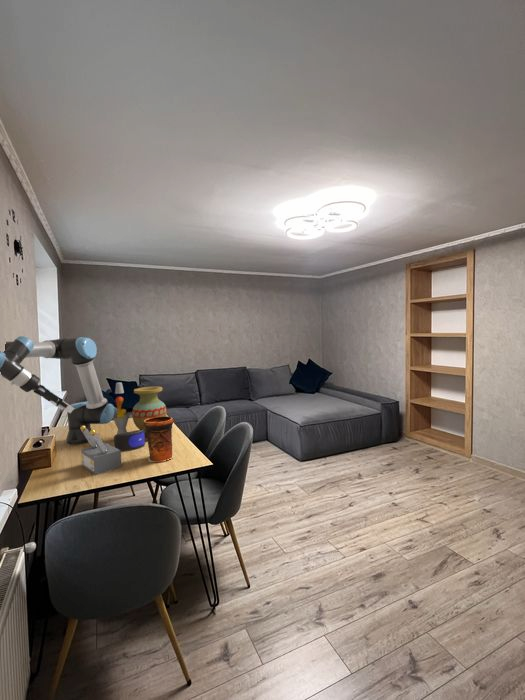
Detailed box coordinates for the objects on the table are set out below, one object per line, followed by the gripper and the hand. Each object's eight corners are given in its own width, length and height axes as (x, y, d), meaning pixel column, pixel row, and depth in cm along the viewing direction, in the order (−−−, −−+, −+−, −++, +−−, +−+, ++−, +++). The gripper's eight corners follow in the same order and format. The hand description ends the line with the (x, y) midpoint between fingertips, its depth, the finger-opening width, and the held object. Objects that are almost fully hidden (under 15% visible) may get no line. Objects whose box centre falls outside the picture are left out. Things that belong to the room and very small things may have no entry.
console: (80, 466, 167) (79, 450, 166) (107, 458, 176) (106, 443, 175) (94, 475, 155) (92, 457, 154) (121, 466, 164) (120, 450, 163)
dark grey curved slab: (116, 453, 183) (115, 436, 182) (114, 451, 187) (113, 434, 186) (147, 447, 192) (146, 430, 191) (144, 444, 196) (143, 428, 195)
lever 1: (91, 447, 169) (78, 427, 165) (96, 444, 171) (83, 423, 166) (94, 449, 167) (80, 428, 163) (98, 445, 169) (85, 424, 164)
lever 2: (101, 452, 161) (87, 431, 157) (106, 449, 163) (92, 428, 158) (104, 454, 159) (90, 432, 154) (108, 451, 160) (95, 429, 156)
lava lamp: (119, 444, 198) (115, 384, 196) (111, 442, 203) (107, 383, 201) (133, 440, 205) (130, 381, 203) (125, 437, 211) (121, 381, 209)
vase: (132, 436, 214) (129, 388, 212) (165, 431, 222) (163, 385, 220) (134, 445, 196) (131, 392, 194) (170, 439, 203) (167, 389, 202)
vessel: (144, 465, 164) (142, 423, 164) (146, 455, 178) (144, 417, 178) (175, 461, 168) (173, 420, 168) (175, 452, 182) (173, 414, 181)
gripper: (12, 385, 154) (54, 412, 166) (25, 389, 138) (70, 419, 150) (25, 372, 158) (65, 399, 170) (39, 374, 142) (82, 405, 154)
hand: (68, 409), depth 160 cm, fingers open, 11 cm apart
